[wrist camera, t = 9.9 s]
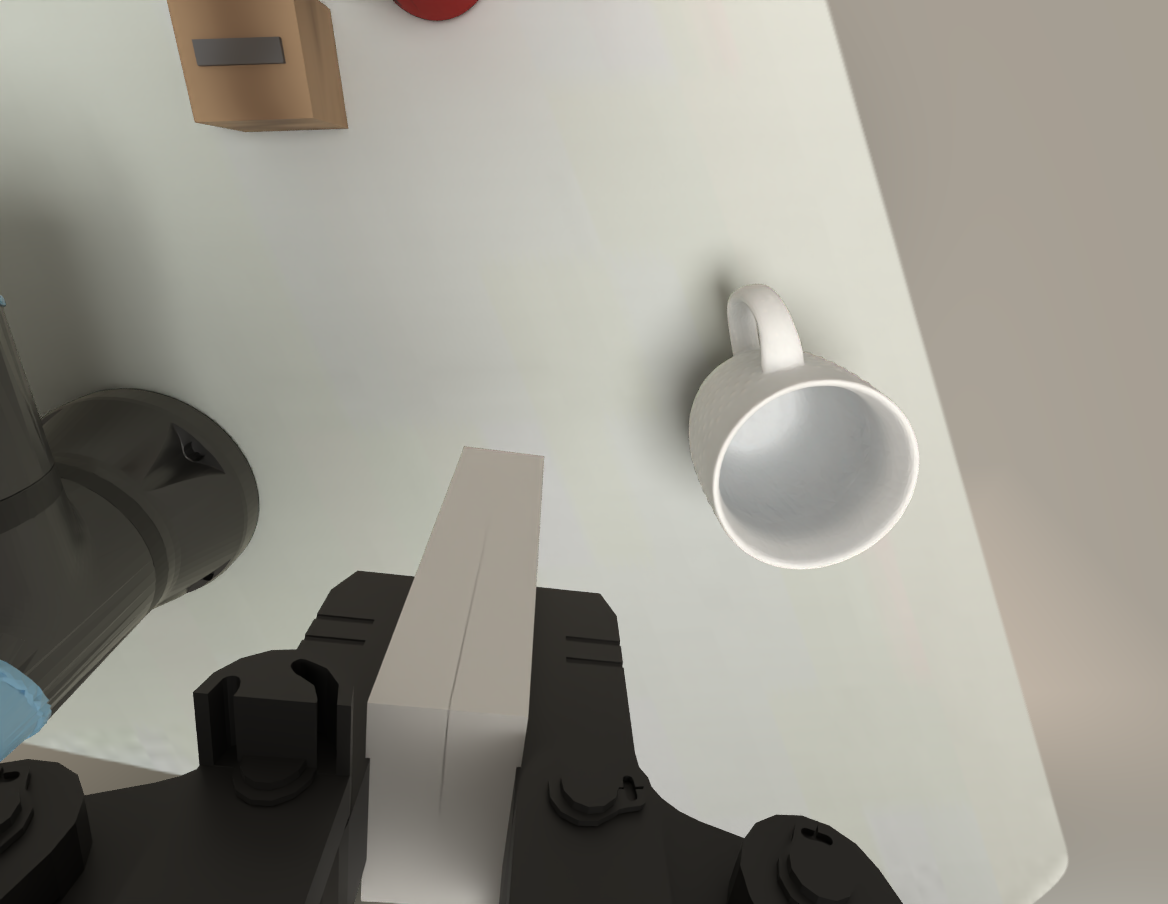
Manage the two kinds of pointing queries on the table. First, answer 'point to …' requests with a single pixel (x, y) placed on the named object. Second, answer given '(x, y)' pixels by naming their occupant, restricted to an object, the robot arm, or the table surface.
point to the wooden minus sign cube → (260, 64)
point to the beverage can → (436, 8)
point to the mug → (797, 445)
